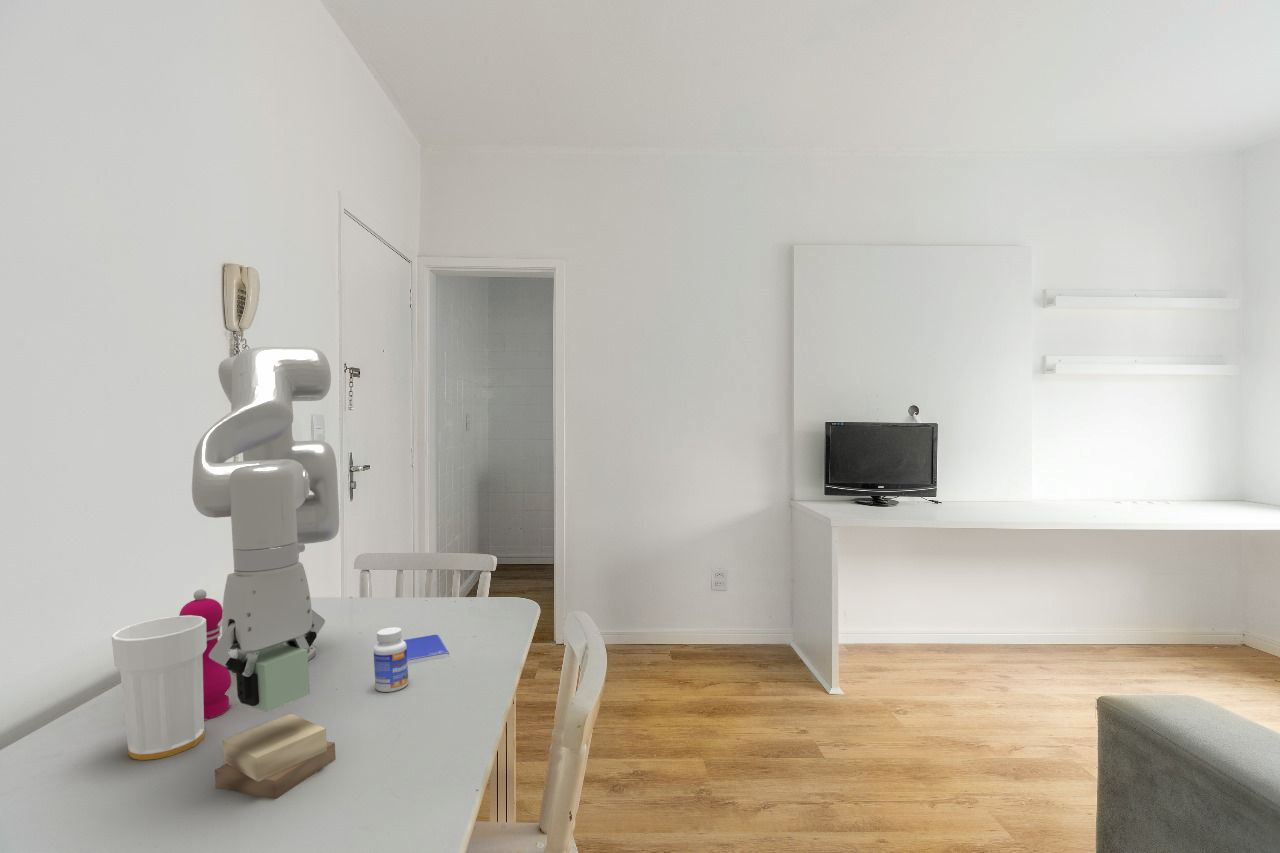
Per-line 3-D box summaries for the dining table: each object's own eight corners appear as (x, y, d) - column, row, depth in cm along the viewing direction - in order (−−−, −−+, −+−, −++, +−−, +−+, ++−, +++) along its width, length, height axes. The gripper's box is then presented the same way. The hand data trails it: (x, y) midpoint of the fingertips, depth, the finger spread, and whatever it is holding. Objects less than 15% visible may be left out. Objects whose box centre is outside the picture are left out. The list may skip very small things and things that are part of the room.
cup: (141, 772, 94) (133, 644, 94) (104, 752, 100) (97, 632, 100) (227, 736, 104) (221, 620, 103) (189, 720, 110) (183, 611, 109)
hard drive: (449, 651, 134) (438, 633, 146) (404, 659, 131) (396, 640, 142) (449, 659, 134) (438, 641, 146) (405, 668, 131) (397, 648, 142)
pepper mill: (243, 705, 115) (236, 584, 115) (203, 724, 108) (195, 596, 108) (210, 700, 118) (203, 582, 117) (169, 719, 111) (161, 594, 110)
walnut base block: (216, 792, 90) (214, 769, 90) (279, 754, 99) (277, 733, 99) (276, 804, 87) (275, 780, 86) (335, 763, 96) (334, 742, 96)
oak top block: (224, 762, 92) (222, 739, 91) (291, 734, 99) (290, 713, 99) (258, 781, 86) (256, 757, 86) (327, 750, 94) (325, 728, 94)
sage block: (238, 703, 91) (236, 658, 91) (281, 686, 97) (279, 643, 96) (267, 712, 88) (264, 664, 88) (309, 694, 94) (307, 649, 93)
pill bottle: (397, 693, 118) (395, 636, 117) (368, 692, 119) (366, 635, 118) (414, 680, 123) (411, 626, 123) (386, 679, 124) (384, 625, 124)
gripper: (307, 544, 101) (313, 667, 102) (181, 571, 86) (189, 715, 87) (341, 547, 98) (348, 675, 98) (216, 576, 83) (225, 726, 83)
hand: (274, 692), depth 92 cm, fingers closed on sage block, 6 cm apart
